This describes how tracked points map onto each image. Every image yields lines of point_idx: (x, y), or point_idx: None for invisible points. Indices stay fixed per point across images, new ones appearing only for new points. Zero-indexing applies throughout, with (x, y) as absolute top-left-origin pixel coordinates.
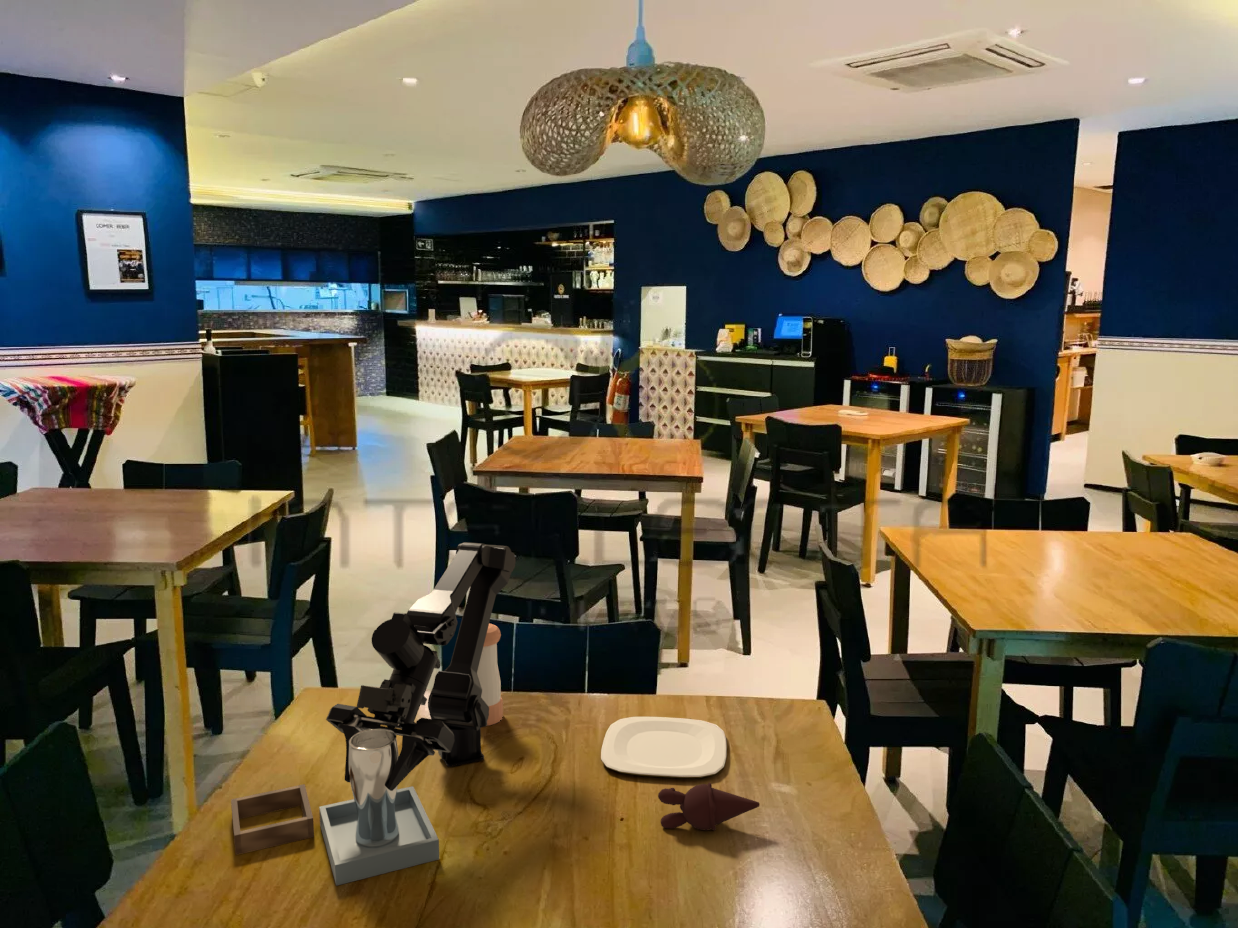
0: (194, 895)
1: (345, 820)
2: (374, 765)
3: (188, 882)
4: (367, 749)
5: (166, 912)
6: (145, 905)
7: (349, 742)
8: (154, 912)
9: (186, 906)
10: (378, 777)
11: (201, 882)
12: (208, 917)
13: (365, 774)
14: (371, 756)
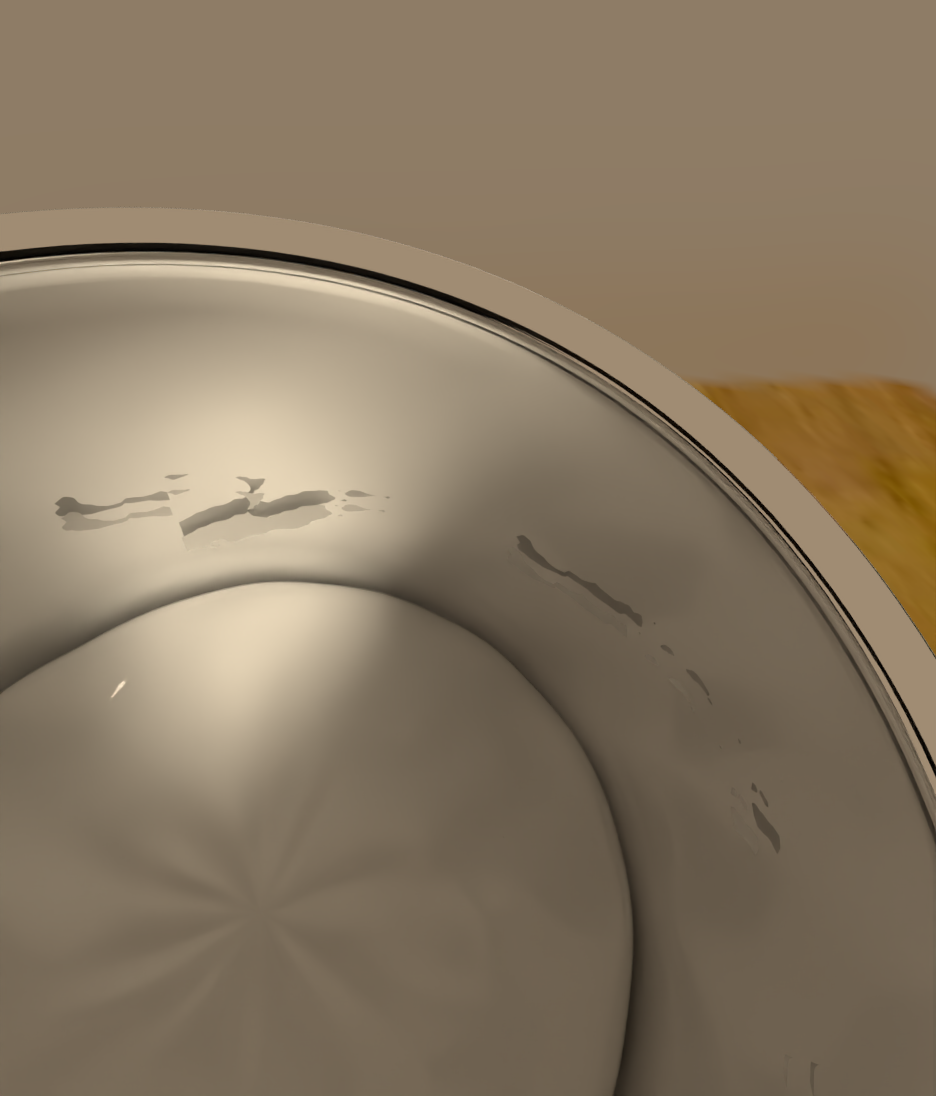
0: (840, 469)
1: None
2: (104, 480)
3: (918, 525)
4: (151, 210)
5: (845, 401)
6: (927, 424)
7: (805, 495)
8: (875, 400)
9: (816, 424)
10: (107, 597)
11: (880, 528)
12: (714, 386)
13: (275, 530)
14: (105, 360)
